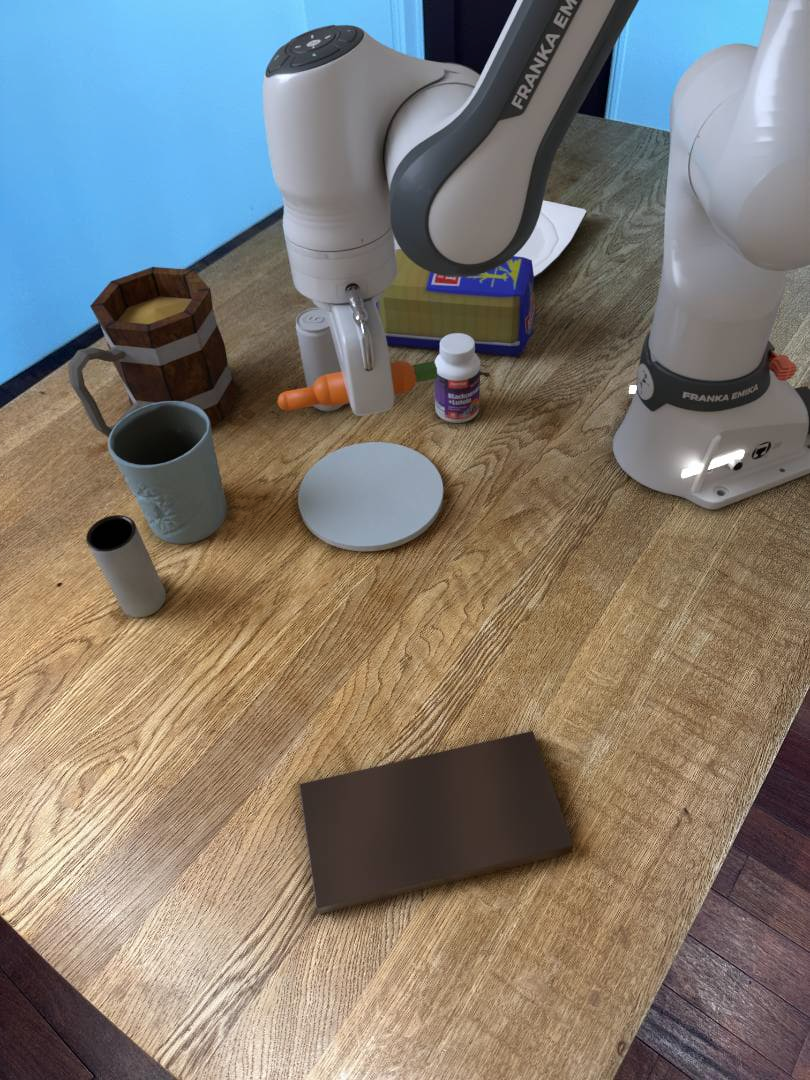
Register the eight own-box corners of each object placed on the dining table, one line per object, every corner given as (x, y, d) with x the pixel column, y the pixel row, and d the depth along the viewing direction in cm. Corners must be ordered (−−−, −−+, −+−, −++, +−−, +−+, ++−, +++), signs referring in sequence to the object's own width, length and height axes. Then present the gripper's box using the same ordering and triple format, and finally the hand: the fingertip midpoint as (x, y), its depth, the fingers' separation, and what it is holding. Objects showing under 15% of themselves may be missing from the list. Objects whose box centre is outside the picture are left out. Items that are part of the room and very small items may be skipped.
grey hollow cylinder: (144, 625, 80) (110, 558, 72) (111, 606, 82) (75, 539, 74) (175, 593, 82) (146, 525, 75) (143, 576, 84) (111, 508, 76)
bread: (527, 365, 104) (532, 294, 96) (341, 347, 109) (332, 278, 101) (536, 320, 110) (542, 250, 103) (361, 305, 115) (354, 237, 107)
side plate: (425, 438, 96) (424, 430, 95) (459, 536, 85) (459, 529, 84) (291, 463, 94) (289, 456, 93) (309, 566, 84) (308, 559, 83)
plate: (596, 224, 126) (599, 208, 124) (511, 317, 111) (512, 300, 109) (439, 187, 137) (439, 171, 135) (342, 267, 122) (340, 250, 120)
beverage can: (342, 415, 99) (330, 332, 90) (305, 412, 100) (289, 329, 91) (352, 391, 102) (341, 308, 93) (315, 387, 103) (301, 305, 94)
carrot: (432, 373, 80) (431, 348, 77) (440, 392, 78) (438, 366, 75) (278, 403, 78) (272, 377, 76) (281, 422, 76) (275, 397, 74)
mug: (185, 357, 109) (153, 254, 98) (260, 390, 104) (235, 285, 92) (70, 441, 99) (20, 337, 88) (146, 482, 93) (102, 377, 82)
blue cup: (145, 558, 86) (108, 476, 77) (140, 493, 92) (105, 411, 83) (240, 535, 87) (215, 453, 78) (228, 473, 94) (204, 390, 85)
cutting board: (531, 739, 70) (532, 730, 69) (572, 852, 63) (574, 845, 62) (301, 791, 68) (299, 783, 67) (318, 914, 61) (316, 908, 60)
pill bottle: (449, 430, 97) (447, 362, 89) (427, 405, 100) (424, 338, 93) (488, 414, 98) (490, 347, 91) (465, 390, 101) (465, 323, 94)
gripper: (406, 319, 60) (417, 455, 71) (359, 195, 74) (374, 325, 84) (323, 334, 60) (346, 469, 70) (291, 207, 73) (314, 336, 84)
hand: (361, 390), depth 77 cm, fingers closed on carrot, 3 cm apart
